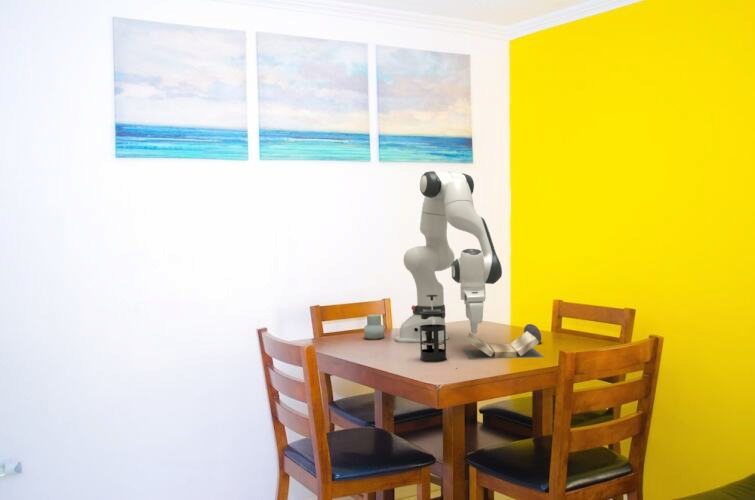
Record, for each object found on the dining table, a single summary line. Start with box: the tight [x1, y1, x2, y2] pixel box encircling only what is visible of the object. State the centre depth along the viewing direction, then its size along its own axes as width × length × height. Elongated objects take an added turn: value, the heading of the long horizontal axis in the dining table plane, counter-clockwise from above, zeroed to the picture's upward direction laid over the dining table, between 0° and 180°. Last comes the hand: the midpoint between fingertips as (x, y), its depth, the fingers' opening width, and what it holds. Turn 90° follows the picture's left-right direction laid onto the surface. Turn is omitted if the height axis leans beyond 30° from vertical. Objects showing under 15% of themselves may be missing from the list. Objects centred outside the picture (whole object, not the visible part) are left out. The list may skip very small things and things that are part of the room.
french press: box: [419, 295, 448, 363], centre depth 248 cm, size 12×9×23 cm
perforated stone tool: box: [523, 323, 542, 345], centre depth 275 cm, size 15×5×7 cm, turn 179°
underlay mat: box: [463, 347, 544, 360], centre depth 251 cm, size 26×18×1 cm
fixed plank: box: [488, 343, 517, 359], centre depth 251 cm, size 7×16×2 cm, turn 179°
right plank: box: [509, 331, 539, 356], centre depth 251 cm, size 8×16×2 cm
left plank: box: [466, 332, 494, 357], centre depth 251 cm, size 8×16×2 cm
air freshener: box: [363, 313, 385, 340], centre depth 299 cm, size 11×8×10 cm
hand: (474, 333), depth 251 cm, fingers closed
